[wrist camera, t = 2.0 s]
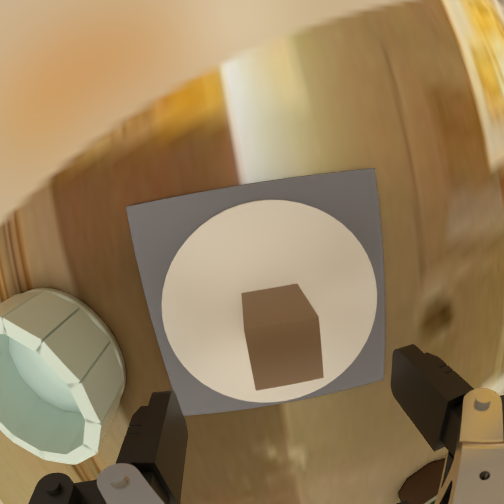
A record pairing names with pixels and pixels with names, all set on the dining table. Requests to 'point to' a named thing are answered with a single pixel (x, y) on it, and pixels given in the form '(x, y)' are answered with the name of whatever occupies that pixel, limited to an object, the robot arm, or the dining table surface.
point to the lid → (269, 301)
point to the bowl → (57, 375)
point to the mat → (215, 201)
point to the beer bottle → (423, 484)
